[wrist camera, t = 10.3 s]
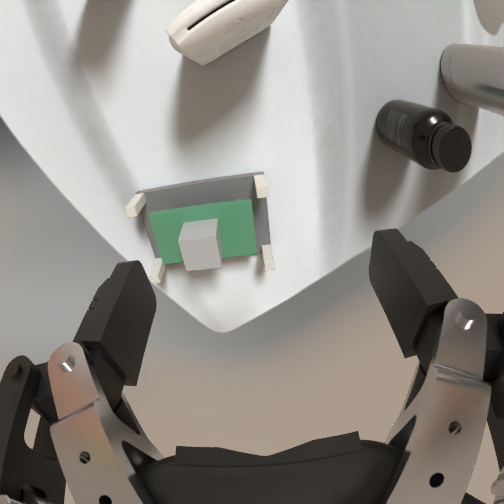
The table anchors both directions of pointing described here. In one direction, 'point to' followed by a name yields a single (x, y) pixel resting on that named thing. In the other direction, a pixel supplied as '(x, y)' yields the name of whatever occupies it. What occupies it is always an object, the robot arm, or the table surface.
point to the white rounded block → (219, 26)
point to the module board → (228, 222)
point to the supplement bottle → (424, 135)
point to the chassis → (207, 193)
